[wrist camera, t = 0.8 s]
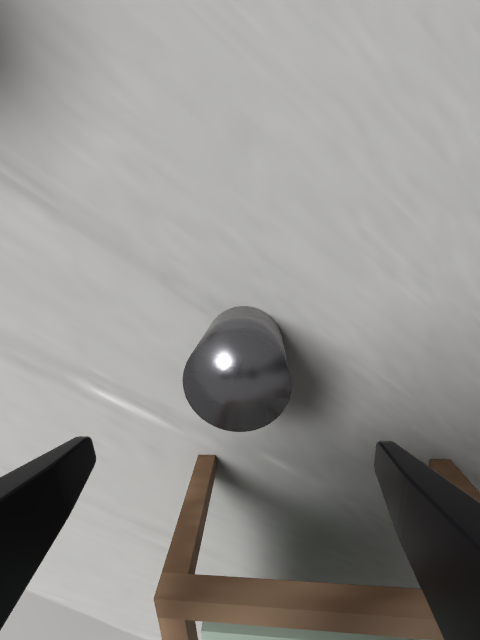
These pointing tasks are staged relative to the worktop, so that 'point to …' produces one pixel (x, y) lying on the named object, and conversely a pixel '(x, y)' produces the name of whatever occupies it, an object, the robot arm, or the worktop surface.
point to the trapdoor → (278, 633)
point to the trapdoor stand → (280, 585)
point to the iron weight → (239, 371)
